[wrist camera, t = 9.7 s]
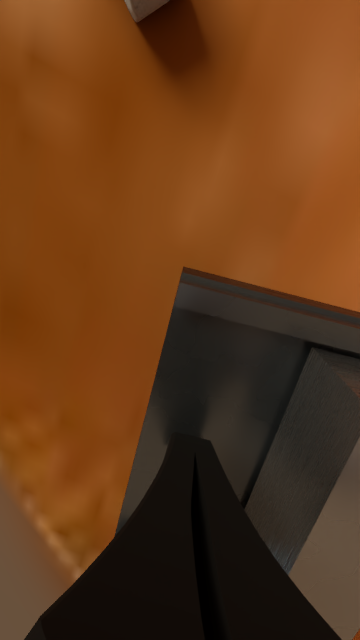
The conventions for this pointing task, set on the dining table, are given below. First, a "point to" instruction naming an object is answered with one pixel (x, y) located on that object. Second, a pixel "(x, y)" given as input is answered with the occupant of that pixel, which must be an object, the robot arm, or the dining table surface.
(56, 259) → the dining table surface
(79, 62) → the dining table surface
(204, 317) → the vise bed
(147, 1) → the wrench
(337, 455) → the bar
